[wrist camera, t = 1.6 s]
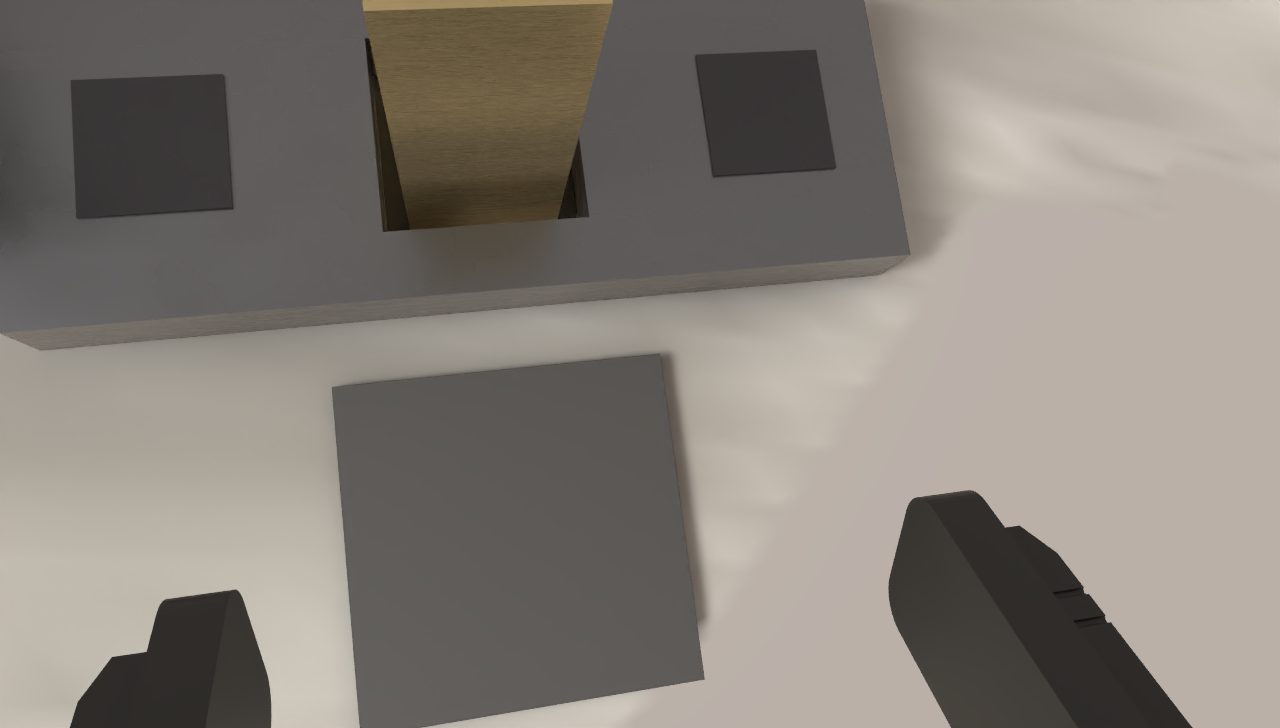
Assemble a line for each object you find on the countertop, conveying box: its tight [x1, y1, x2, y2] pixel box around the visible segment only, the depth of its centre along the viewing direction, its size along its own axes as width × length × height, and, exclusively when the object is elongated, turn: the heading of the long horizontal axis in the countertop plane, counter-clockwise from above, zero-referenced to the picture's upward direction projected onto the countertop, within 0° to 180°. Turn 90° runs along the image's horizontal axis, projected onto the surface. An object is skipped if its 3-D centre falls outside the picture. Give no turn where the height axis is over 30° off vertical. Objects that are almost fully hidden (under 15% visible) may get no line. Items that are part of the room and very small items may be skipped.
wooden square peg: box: [362, 0, 613, 230], centre depth 24 cm, size 5×5×14 cm
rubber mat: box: [332, 354, 704, 728], centre depth 28 cm, size 10×10×1 cm
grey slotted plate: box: [0, 0, 910, 350], centre depth 29 cm, size 26×10×2 cm, turn 98°
